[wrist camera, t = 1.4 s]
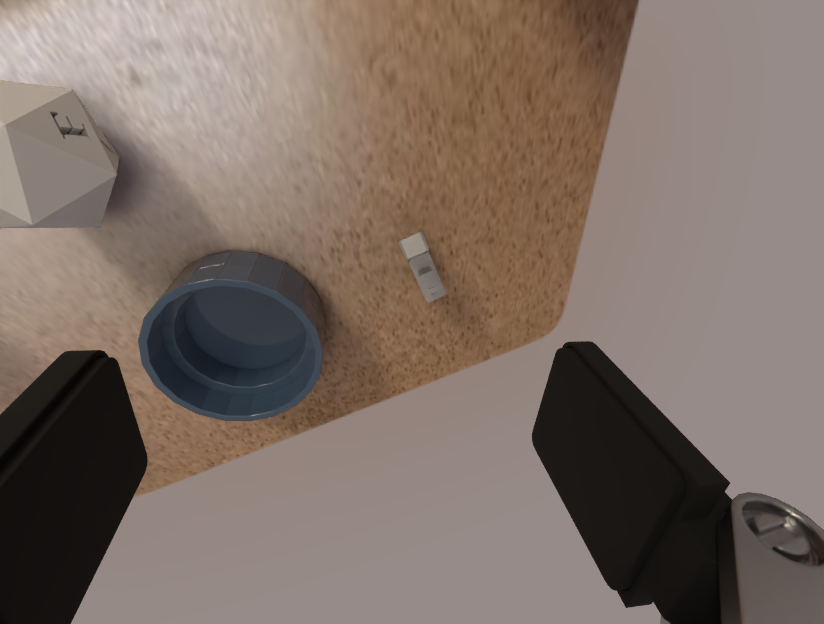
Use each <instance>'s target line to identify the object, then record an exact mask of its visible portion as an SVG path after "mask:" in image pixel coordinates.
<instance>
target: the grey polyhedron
mask: <svg viewBox="0 0 824 624" xmlns="http://www.w3.org/2000/svg"><path fill="white" fill-rule="evenodd" d="M118 163H119V156H118V154H117V153H116V151H115V150H114V148H113V147H112V145H111V144H110V143H109V141H108V140H107V138H106V137H105V136H104V134H103V132H102V131H101V130H100V128H99V127H98V125H97V124H96V122H95V121H94V119H93V118H92V117H91V115H90V114H89V112H88V111H87V109H86V108H85V106H84V105H83V103H82V102H81V101H80V99H79V98H78V96H77V95H76V93H75V92H74V90H73V89H65V88H57V87H49V86H40V85H32V84H24V83H16V82H8V81H0V228H66V227H101V223H102V220H103V217H104V214H105V211H106V207H107V204H108V201H109V198H110V195H111V192H112V188H113V185H114V182H115V179H116V176H117V170H118Z"/></svg>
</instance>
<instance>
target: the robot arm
mask: <svg viewBox="0 0 824 624" xmlns="http://www.w3.org/2000/svg"><path fill="white" fill-rule="evenodd" d="M532 441H533V445H534V448H535V450H536V452H537V454H538V456H539V457H540V459H541V461H542V463H543V465H544V467H545V469H546V471H547V472H548V474H549V476H550V478H551V480H552V482H553V484H554V486H555V487H556V489H557V491H558V493H559V495H560V497H561V499H562V501H563V503H564V504H565V506H566V508H567V510H568V512H569V514H570V516H571V518H572V519H573V521H574V523H575V525H576V527H577V529H578V531H579V533H580V534H581V536H582V538H583V540H584V542H585V544H586V546H587V548H588V549H589V551H590V553H591V555H592V557H593V559H594V561H595V563H596V564H597V566H598V568H599V570H600V572H601V574H602V576H603V578H604V580H605V581H606V583H607V584H608V586H609V587H610V588H611V589H613V590H617V591H618V594H619V596H620V597H621V599H622V601H623V603H624V605H625V607H626V608H628V607H635V606H642V605H649V604H652V602H654V603H655V605H656V607H657V609H658V610H659V612H660V613H661V623H660V624H824V530H823V529H822V528H821V527H820V526H818V525H817V524H816V523H815V522H814V521H813V520H811V519H810V518H809V517H808V516H806V515H804V514H803V513H802V512H800V511H799V510H797V509H796V508H794V507H792V506H790V505H788V504H786V503H784V502H782V501H780V500H778V499H776V498H773V497H770V496H767V495H763V494H758V493H749V492H748V493H743V494H739V495H737V496H736V497H735V498H734V499H733V500H732V499H731V498H730V497H729V496H728V495H727V494H726V493H725V490H726V489H727V487H728V486H729V484H730V482H729V481H728V480H727V479H726V478H725V477H724V476H723V475H722V474H721V473H720V472H719V471H718V470H717V469H716V468H715V467H714V466H713V465H712V464H711V463H710V462H709V461H708V460H707V459H706V458H705V456H704V455H703V454H701V452H700V451H699V450H698V449H697V448H696V447H695V446H694V445H693V444H692V443H691V442H690V441H689V440H688V439H687V438H686V437H685V436H684V435H683V434H682V433H681V432H680V431H679V430H678V429H677V428H676V427H675V426H674V425H673V424H672V423H671V422H670V420H669V419H668V418H666V416H665V415H664V414H663V413H662V412H661V411H660V410H659V409H658V408H657V407H656V406H655V405H654V404H653V403H652V402H651V401H650V400H649V399H648V398H647V397H646V396H645V395H644V394H643V393H642V392H641V391H640V390H639V389H638V388H637V387H636V385H635V384H634V383H633V382H632V381H631V380H630V379H629V378H627V376H626V375H625V374H624V373H623V372H622V371H621V370H620V369H619V368H618V367H617V366H616V365H615V364H614V363H613V362H612V361H611V360H610V359H609V358H608V357H607V356H606V355H605V354H604V353H603V351H602V350H600V348H599V347H598V346H597V345H596V344H594V343H593V342H589V341H588V342H567V343H565V344H564V345H563V347H562V348H560V349H558V350H557V352H556V354H555V357H554V361H553V364H552V368H551V371H550V374H549V378H548V381H547V384H546V388H545V391H544V395H543V398H542V401H541V405H540V408H539V411H538V415H537V418H536V422H535V425H534V429H533V433H532ZM146 467H147V453H146V450H145V447H144V443H143V440H142V437H141V434H140V431H139V428H138V424H137V421H136V418H135V415H134V412H133V408H132V405H131V402H130V399H129V396H128V393H127V389H126V386H125V383H124V380H123V377H122V374H121V370H120V367H119V364H118V362H117V360H116V359H115V358H112V357H110V358H109V357H108V355H107V354H106V353H105V352H104V351H101V350H89V351H66V352H64V353H63V354H61V355H60V356H59V357H58V358H57V359H56V360H55V361H54V362H53V363H52V364H51V365H50V366H49V367H48V368H47V369H46V370H45V371H44V372H43V373H42V374H41V375H40V376H39V377H38V378H37V379H36V380H35V381H34V382H33V383H32V384H31V385H30V386H29V387H28V388H27V389H26V390H25V391H24V392H23V393H22V394H21V395H20V396H19V397H18V398H17V399H16V400H15V401H14V402H13V403H12V404H11V405H10V406H9V407H8V408H7V409H6V410H5V411H4V412H3V413H2V414H1V415H0V624H71V622H72V620H73V618H74V616H75V614H76V612H77V610H78V608H79V606H80V604H81V602H82V600H83V597H84V595H85V593H86V591H87V589H88V587H89V585H90V583H91V581H92V579H93V577H94V575H95V573H96V571H97V569H98V567H99V565H100V563H101V561H102V559H103V557H104V555H105V553H106V551H107V549H108V547H109V545H110V543H111V541H112V539H113V537H114V534H115V532H116V530H117V528H118V526H119V524H120V522H121V520H122V518H123V516H124V514H125V512H126V510H127V508H128V506H129V504H130V502H131V500H132V498H133V496H134V494H135V492H136V490H137V488H138V486H139V484H140V482H141V480H142V478H143V476H144V474H145V471H146Z"/></svg>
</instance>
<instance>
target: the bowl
mask: <svg viewBox="0 0 824 624" xmlns="http://www.w3.org/2000/svg"><path fill="white" fill-rule="evenodd" d="M324 329H325V315H324V311H323V308H322V305H321V301H320V298H319V296H318V295H317V293H316V292H315V290H314V289H313V288H312V286H311V285H310V284H309V282H308V281H307V279H305V277H303V276H302V275H301V274H299V273H298V272H297V271H295V270H294V269H293V268H291V267H290V266H289V265H287V264H285V263H284V262H281V261H279V260H276V259H274V258H271V257H269V256H266V255H263V254H260V253H251V252H241V251H228V252H223V253H218V254H212V255H208V256H205V257H203V258H201V259H200V260H198V261H196V262H194V263H192V264H191V265H189V266H187V267H185V268H184V269H183V271H182V272H181V273H180V274H179V276H178V277H177V278H176V279H175V280H174V282H173V283H172V284H171V285H170V286H169V288H168V289H167V290H166V291H165V293H164V294H163V295H162V296H161V297H160V299H159V300H158V301H157V302H156V304H155V305H154V306H153V307H152V308H151V310H150V311H149V312H148V313H147V315H146V316H145V318H144V320H143V324H142V327H141V331H140V335H139V339H138V343H139V349H140V355H141V361H142V365H143V367H144V368H145V370H146V372H147V373H148V375H149V377H150V378H151V380H152V382H153V383H154V385H155V386H156V387H157V388H158V389H159V390H161V391H162V392H163V393H164V394H165V395H166V396H167V397H169V398H170V399H171V400H172V401H173V402H175V403H177V404H179V405H181V406H183V407H184V408H186V409H188V410H190V411H192V412H194V413H196V414H199V415H203V416H207V417H211V418H215V419H219V420H224V421H254V420H258V419H263V418H268V417H272V416H276V415H278V414H280V413H282V412H284V411H286V410H288V409H290V408H292V407H294V406H296V405H297V404H298V403H299V402H300V401H301V400H302V399H303V398H304V397H305V396H307V395H308V394H309V393H310V392H311V391H312V389H313V387H314V385H315V383H316V381H317V379H318V377H319V375H320V373H321V370H322V358H323V344H324Z"/></svg>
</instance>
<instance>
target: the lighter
mask: <svg viewBox="0 0 824 624" xmlns="http://www.w3.org/2000/svg"><path fill="white" fill-rule="evenodd" d="M398 243H399V245H400V247H401V250H402V252H403V254H404V257H405V259H406V260H407V261H408V262H409V264H410V266H411V269H412V271H413V273H414V275H415V277H416V280H417V282H418V284H419V286H420V288H421V291H422V293H423V295H424V297H425V300H426V302H431V301H434V300H436V299H438V298H440V297H443V296H445V294H446V292H445V290H444V288H443V285H442V283H441V280H440V278H439V275H438V273H437V271H436V268H435V266H434V263H433V261H432V259H431V256H430V254H429V247H428V245H427V243H426V240H425V238H424V236H423V233H422V232H419V233H417V234H414V235H412V236H410V237H408V238H405V239H403V240H401V241H399V242H398Z"/></svg>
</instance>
